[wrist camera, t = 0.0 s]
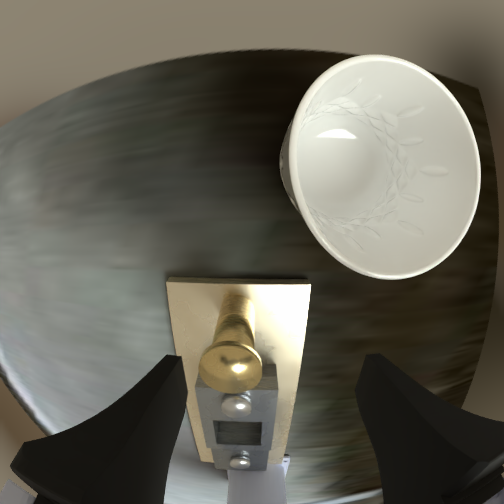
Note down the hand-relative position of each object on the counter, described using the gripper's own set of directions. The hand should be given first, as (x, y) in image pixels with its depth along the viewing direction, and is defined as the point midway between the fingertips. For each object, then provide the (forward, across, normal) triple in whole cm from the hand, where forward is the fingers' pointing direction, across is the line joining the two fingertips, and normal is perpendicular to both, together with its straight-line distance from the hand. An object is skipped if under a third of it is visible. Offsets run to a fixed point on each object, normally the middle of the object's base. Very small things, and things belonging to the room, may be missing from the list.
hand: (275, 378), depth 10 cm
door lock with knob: (+10, +2, +13) cm, 17 cm away
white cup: (+10, -4, -8) cm, 14 cm away
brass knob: (+9, +2, +2) cm, 10 cm away
